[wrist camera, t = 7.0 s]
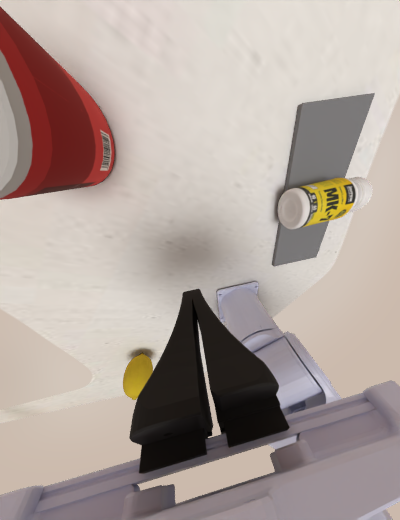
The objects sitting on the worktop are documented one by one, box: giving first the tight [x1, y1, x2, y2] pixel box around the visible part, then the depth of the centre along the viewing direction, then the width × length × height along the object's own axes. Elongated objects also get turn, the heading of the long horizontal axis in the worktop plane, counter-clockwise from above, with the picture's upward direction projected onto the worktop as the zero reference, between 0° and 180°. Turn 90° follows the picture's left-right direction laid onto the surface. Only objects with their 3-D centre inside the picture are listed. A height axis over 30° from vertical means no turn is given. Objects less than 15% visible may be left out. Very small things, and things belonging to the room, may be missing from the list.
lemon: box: [123, 353, 153, 400], centre depth 29 cm, size 6×6×8 cm
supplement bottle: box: [278, 177, 372, 229], centre depth 17 cm, size 5×5×8 cm
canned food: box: [0, 7, 115, 200], centre depth 8 cm, size 8×8×11 cm
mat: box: [272, 93, 375, 266], centre depth 20 cm, size 20×8×1 cm, turn 8°
